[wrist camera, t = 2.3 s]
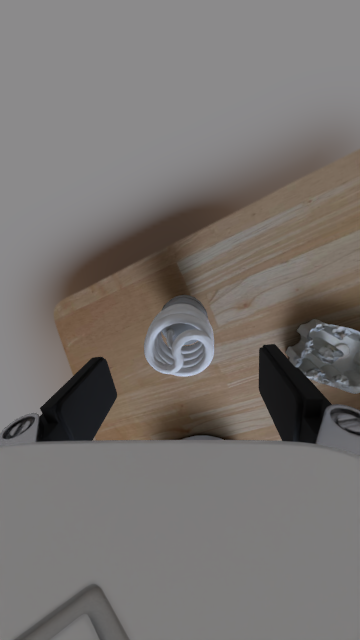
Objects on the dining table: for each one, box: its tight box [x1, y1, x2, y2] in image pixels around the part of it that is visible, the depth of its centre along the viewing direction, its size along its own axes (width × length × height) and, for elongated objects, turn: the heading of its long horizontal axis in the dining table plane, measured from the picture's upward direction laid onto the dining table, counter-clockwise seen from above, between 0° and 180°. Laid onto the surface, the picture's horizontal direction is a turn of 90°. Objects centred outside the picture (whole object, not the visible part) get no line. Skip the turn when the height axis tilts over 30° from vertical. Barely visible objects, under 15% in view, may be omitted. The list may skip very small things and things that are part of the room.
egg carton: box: [286, 319, 360, 394], centre depth 22 cm, size 11×8×4 cm
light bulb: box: [144, 295, 214, 376], centre depth 18 cm, size 6×6×12 cm
